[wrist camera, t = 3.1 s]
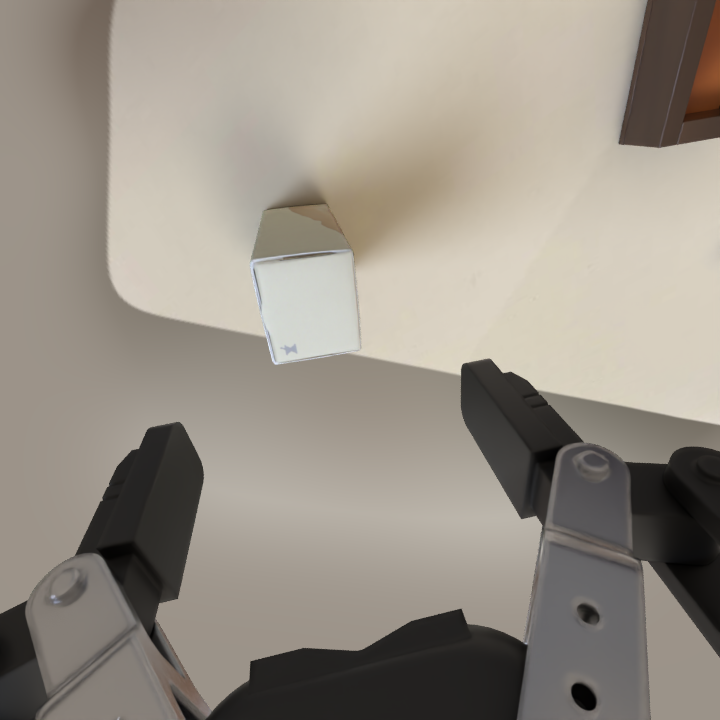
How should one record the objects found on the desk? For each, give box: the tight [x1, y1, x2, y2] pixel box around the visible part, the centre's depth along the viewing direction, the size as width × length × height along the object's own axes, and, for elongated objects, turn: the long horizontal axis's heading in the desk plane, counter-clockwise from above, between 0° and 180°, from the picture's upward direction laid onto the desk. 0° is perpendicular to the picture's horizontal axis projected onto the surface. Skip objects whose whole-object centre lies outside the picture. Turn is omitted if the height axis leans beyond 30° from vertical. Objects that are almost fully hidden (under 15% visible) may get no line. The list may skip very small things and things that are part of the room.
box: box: [250, 204, 361, 364], centre depth 22 cm, size 5×4×11 cm
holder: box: [619, 0, 720, 148], centre depth 23 cm, size 8×9×3 cm
